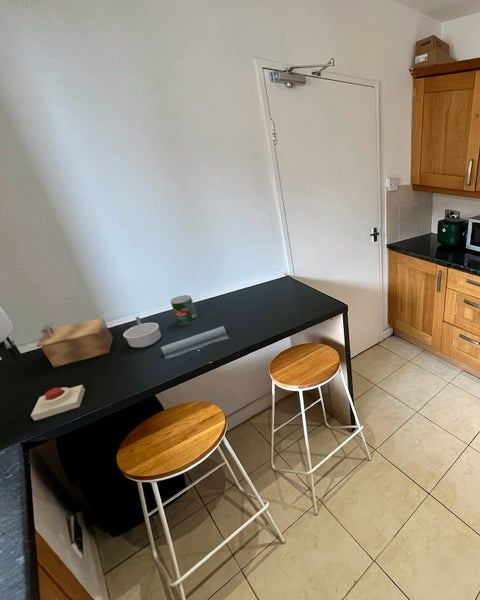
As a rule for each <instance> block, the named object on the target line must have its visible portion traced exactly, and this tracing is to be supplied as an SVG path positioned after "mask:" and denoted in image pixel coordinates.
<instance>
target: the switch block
mask: <svg viewBox="0 0 480 600" xmlns="http://www.w3.org/2000/svg"><path fill="white" fill-rule="evenodd" d="M60 388H61V389H62V391H63V392H64V393H63V394H62V395H61V396H59V397H57V398H55V399H52V400H48V399H47V398H46V396H45V394H44V395H42V396H39V397H38V400H37V402H36V404H35V406H34V408H33V410H32V412H31V414H30V417H31V418H32V420H33V421H38V420H42V419H45V418H48V417H51V416H55V415H57V414H61V413H64V412H67V411H71V410H74V409H76V408H77V409H78V408H80V407H81V405H82V401H83V397H84V395H85V391H86V389H85V387H84V385H83V384H80V385H76V386H73V387H70V388H69V387H67V386H66V387H60ZM70 409H71V410H70Z"/></svg>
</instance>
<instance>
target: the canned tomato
mask: <svg viewBox="0 0 480 600" xmlns="http://www.w3.org/2000/svg"><path fill="white" fill-rule="evenodd" d="M169 302H170V304H171V306H172V307H171V308H172V310H173V312H174V316H175V318H176V320H177V323H178V325H182V326H185V325H190V324H193V323H195V322H196V321H198V319H199V316H198V314H197V311H196V307H195V304H194V302H193V299H192V295H185V294H184V295H179V296H176V297H173V298H172V299H171V300H170V301H169Z"/></svg>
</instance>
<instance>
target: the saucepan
mask: <svg viewBox="0 0 480 600" xmlns="http://www.w3.org/2000/svg"><path fill="white" fill-rule="evenodd" d="M135 320H136V324H137V325H133V326H132V327H130V328H128V329H127V330H125V331H124V333H123V337H124V338H125V339H126V342H127V343H128V345H129V346H130V347H131V348H145V347H149V346H151V345H153V344H155V343H157V342H158V341H159V340H160V339H161V337H162V334H161V331H160V328H159V323H156V322H145V323H142V321H141V319H140V317H139V316H136V317H135Z"/></svg>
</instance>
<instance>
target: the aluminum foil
mask: <svg viewBox="0 0 480 600" xmlns="http://www.w3.org/2000/svg"><path fill="white" fill-rule="evenodd" d="M227 339H230V337H229V336H228V334H227V330H226V328H225V326H224V325H222V326H219V327H216V328H214V329H210V330H207V331H204V332H202V333H198V334H195V335H192V336H189V337H186V338H184V339H180V340H178V341H175V342H172V343H168V344H165V345H163V346H161V347H160V350H161V353H162V355H163V356H164V358H165V360H169V359H171V358H175V357H179V356H181V355H183V354H186V353H189V352H191V351H194V350H197V349H198V350H199V349H201V348H203V347H206V346H208V345H210V344H214V343H216V342H221V341H224V340H227Z"/></svg>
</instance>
